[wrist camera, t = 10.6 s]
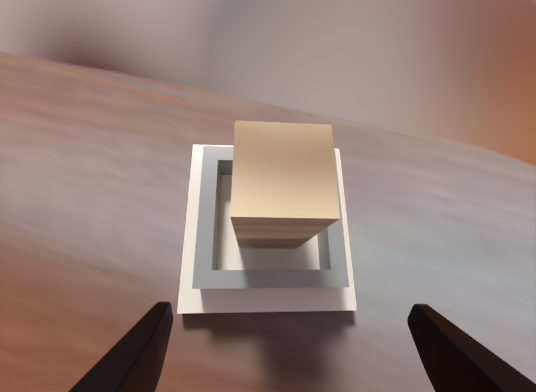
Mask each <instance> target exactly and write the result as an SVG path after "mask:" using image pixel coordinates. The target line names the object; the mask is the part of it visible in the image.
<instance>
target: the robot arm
mask: <svg viewBox="0 0 536 392" xmlns="http://www.w3.org/2000/svg"><path fill="white" fill-rule="evenodd" d="M172 324H173V314H172V308H171V303H170V302H164V301H160V302H158V303H156V304H155V305H154V306H153V307H152V308H151V309H150V310H149V311H148V312H147V313H146V314H145V315H144V316H143V317H142V318H141V319H140V320H139V321H138V322H137V323H136V324H135V325H134V326H133V327H132V328H131V329H130V330H129V331H128V332H127V333H126V334H125V335H124V336H123V337H122V338H121V339H120V340H119V341H118V342H117V343H116V344H115V345H114V346H113V347H112V348H111V349H110V350H109V351H108V352H107V353H106V354H105V355H104V356H103V357H102V358H101V359H100V360H99V361H98V362H97V363H96V364H95V365H94V366H93V367H92V368H91V369H90V370H89V371H88V372H87V373H86V374H85V375H84V376H83V377H82V378H81V379H80V380H79V381H78V382H77V383H76V384H75V385H74V386H73V387H72V388H71V389H70V390H69V391H68V392H155V390H156V387H157V384H158V381H159V378H160V374H161V371H162V367H163V363H164V359H165V354H166V350H167V346H168V341H169V337H170V333H171V328H172ZM408 326H409V329H410V331H411V334H412V337H413V339H414V342H415V345H416V348H417V350H418V353H419V356H420V358H421V361H422V363H423V366H424V368H425V371H426V373H427V375H428V377H429V379H430V381H431V383H432V385H433V388H434V390H435V392H536V384H535V383H534V382H532V381H531V380H529V379H528V378H527V377H525V376H524V375H523V374H521V373H520V372H518V371H517V370H516V369H514V368H513V367H512V366H510V365H509V364H508V363H506V362H505V361H503V360H502V359H501V358H499V357H498V356H497V355H495V354H494V353H493V352H491V351H490V350H488V349H487V348H486V347H484V346H483V345H482V344H480V343H479V342H477V341H476V340H475V339H473V338H472V337H471V336H469V335H468V334H467V333H465V332H464V331H462V330H461V329H460V328H458V327H457V326H456V325H454V324H453V323H452V322H450V321H449V320H447V319H446V318H445V317H443V316H442V315H441V314H439V313H438V312H436V311H435V310H434V309H432V308H431V307H430V306H428V305H426V304H414V305H413V307H412V309H411V312H410V314H409V316H408Z"/></svg>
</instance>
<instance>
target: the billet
mask: <svg viewBox="0 0 536 392" xmlns="http://www.w3.org/2000/svg"><path fill="white" fill-rule="evenodd" d="M230 218H231V222H232V225H233V229H234V232H235V236H236V240H237V243H238V247H239V248H264V249H297V248H298V247H300V246H301V245H303V244H304V243H306V242H307V241H308V240H310V239H311V238H313V237H314V236H316V235H317V234H319V233H320V232H321V231H323V230H324V229H326V228H327V227H329V226H330V225H332V224H333V223H335V222H336V221H337V220H339V219H340V212H339V201H338V190H337V179H336V168H335V157H334V147H333V136H332V125H321V124H299V123H276V122H253V121H235V128H234V149H233V169H232V190H231V210H230Z"/></svg>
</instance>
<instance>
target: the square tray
mask: <svg viewBox="0 0 536 392" xmlns="http://www.w3.org/2000/svg"><path fill="white" fill-rule="evenodd" d="M233 149H234V146H226V145H193V153H192V163H191V173H190V184H189V194H188V205H187V215H186V226H185V236H184V247H183V257H182V268H181V278H180V288H179V299H178V309H177V314H181V313H238V312H295V311H351V310H357V308H356V299H355V290H354V280H353V271H352V262H351V253H350V244H349V235H348V225H347V216H346V207H345V198H344V189H343V180H342V170H341V161H340V152H339V149H334V157H335V168H336V179H337V190H338V201H339V212H340V219H339V220H337V221H336V222H335V223H333V224H332V225H330V226H329V227H327V228H326V229H324V230H323V231H321V232H320V233H319V234H317V235H316V236H314V237H313V238H311V239H310V240H308V241H307V242H306V243H304V244H303V245H301V246H300V247H298V248H297V249H264V248H239V247H238V243H237V240H236V236H235V232H234V229H233V225H232V222H231V218H230V210H231V190H232V169H233Z"/></svg>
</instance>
